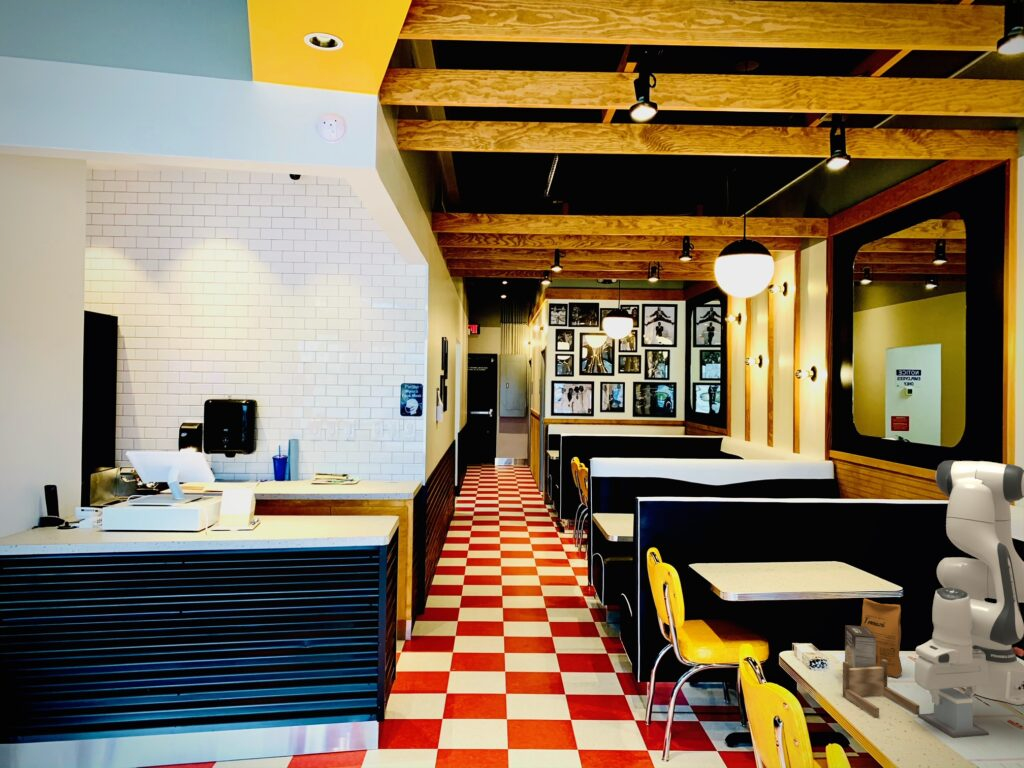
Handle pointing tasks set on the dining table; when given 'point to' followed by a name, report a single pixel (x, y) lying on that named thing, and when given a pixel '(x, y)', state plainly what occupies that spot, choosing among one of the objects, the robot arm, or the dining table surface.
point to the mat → (949, 730)
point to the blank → (955, 709)
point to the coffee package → (884, 633)
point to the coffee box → (860, 647)
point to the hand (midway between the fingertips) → (952, 702)
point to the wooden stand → (871, 688)
